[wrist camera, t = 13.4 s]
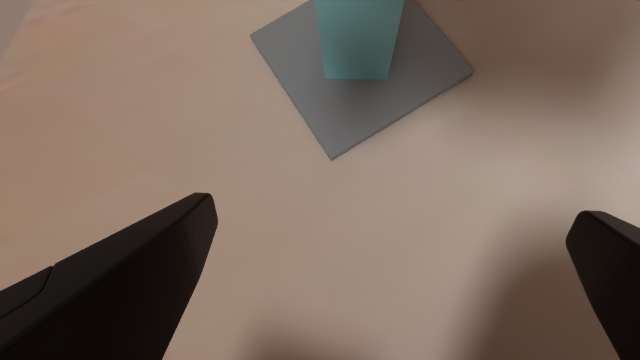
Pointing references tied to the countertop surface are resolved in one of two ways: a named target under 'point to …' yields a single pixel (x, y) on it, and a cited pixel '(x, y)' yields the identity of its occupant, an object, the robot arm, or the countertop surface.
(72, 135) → the countertop surface
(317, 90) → the slate mat
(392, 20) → the teal block
